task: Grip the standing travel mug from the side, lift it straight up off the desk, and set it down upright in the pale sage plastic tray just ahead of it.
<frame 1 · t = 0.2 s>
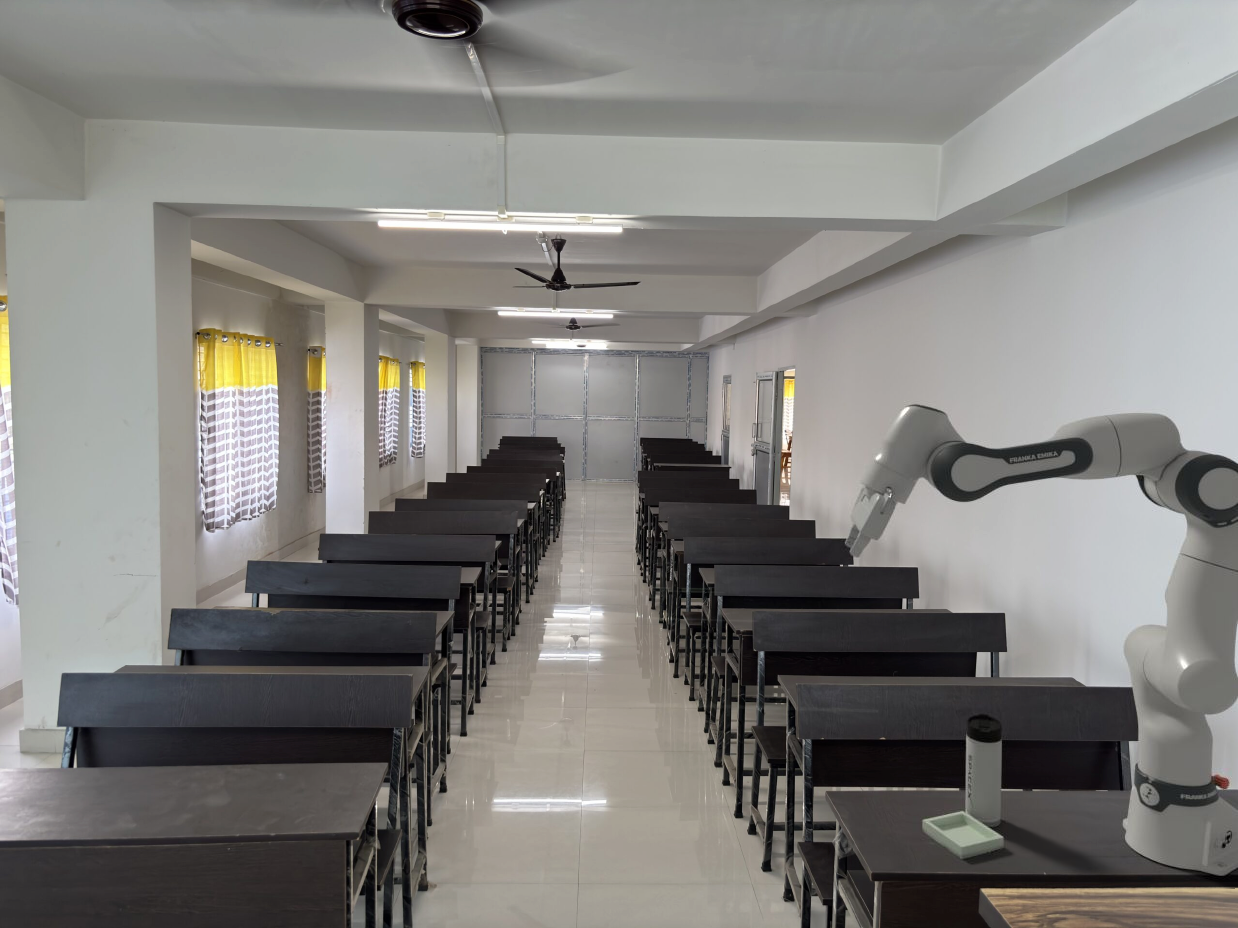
hand: (851, 550, 157), 54 cm above the table, tool tilted 25°, fingers open, 8 cm apart
tray: (962, 839, 157), on the table
travel mug: (982, 820, 164), on the table
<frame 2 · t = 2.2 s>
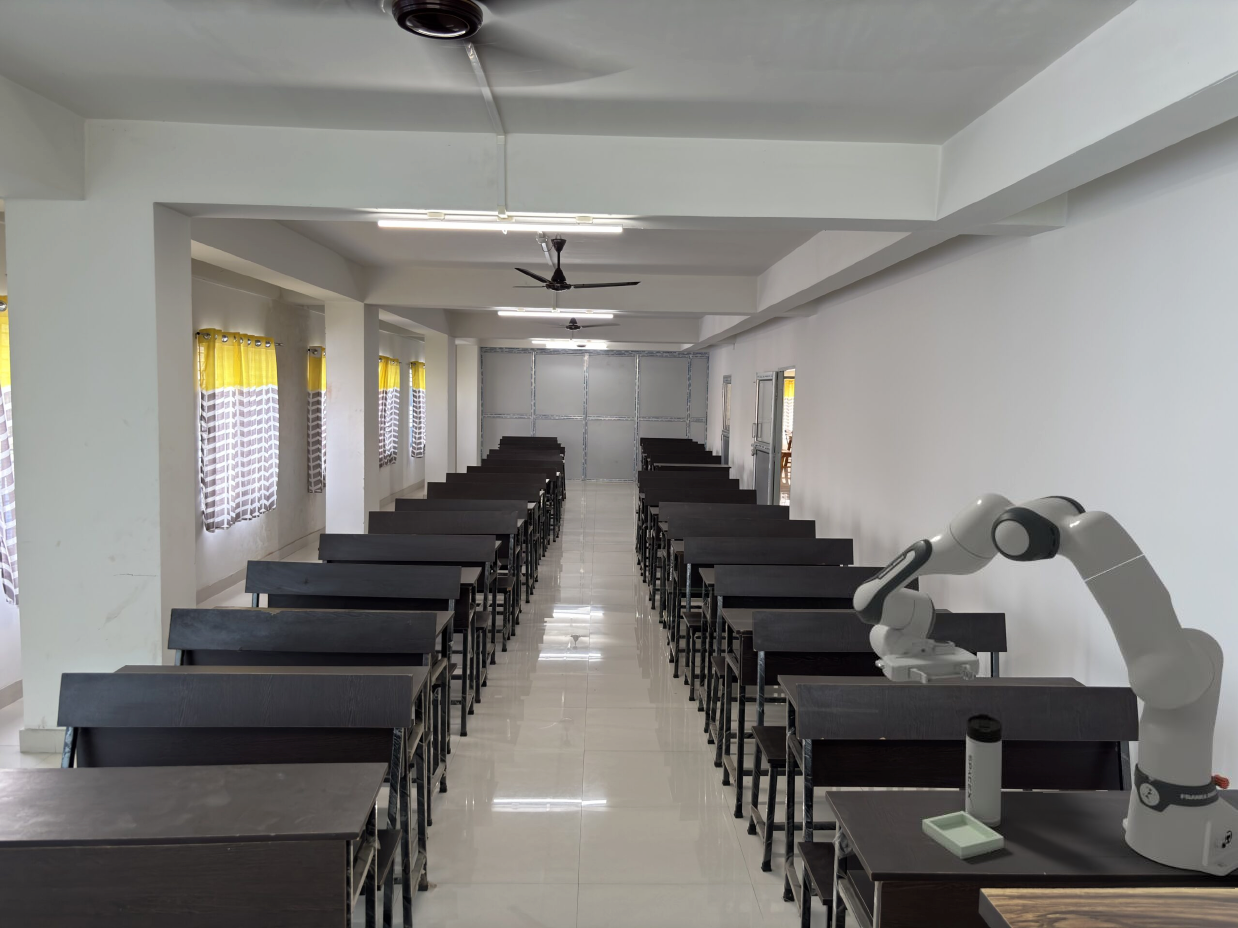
hand: (950, 678, 174), 24 cm above the table, tool horizontal, fingers open, 8 cm apart
nothing on the table moved.
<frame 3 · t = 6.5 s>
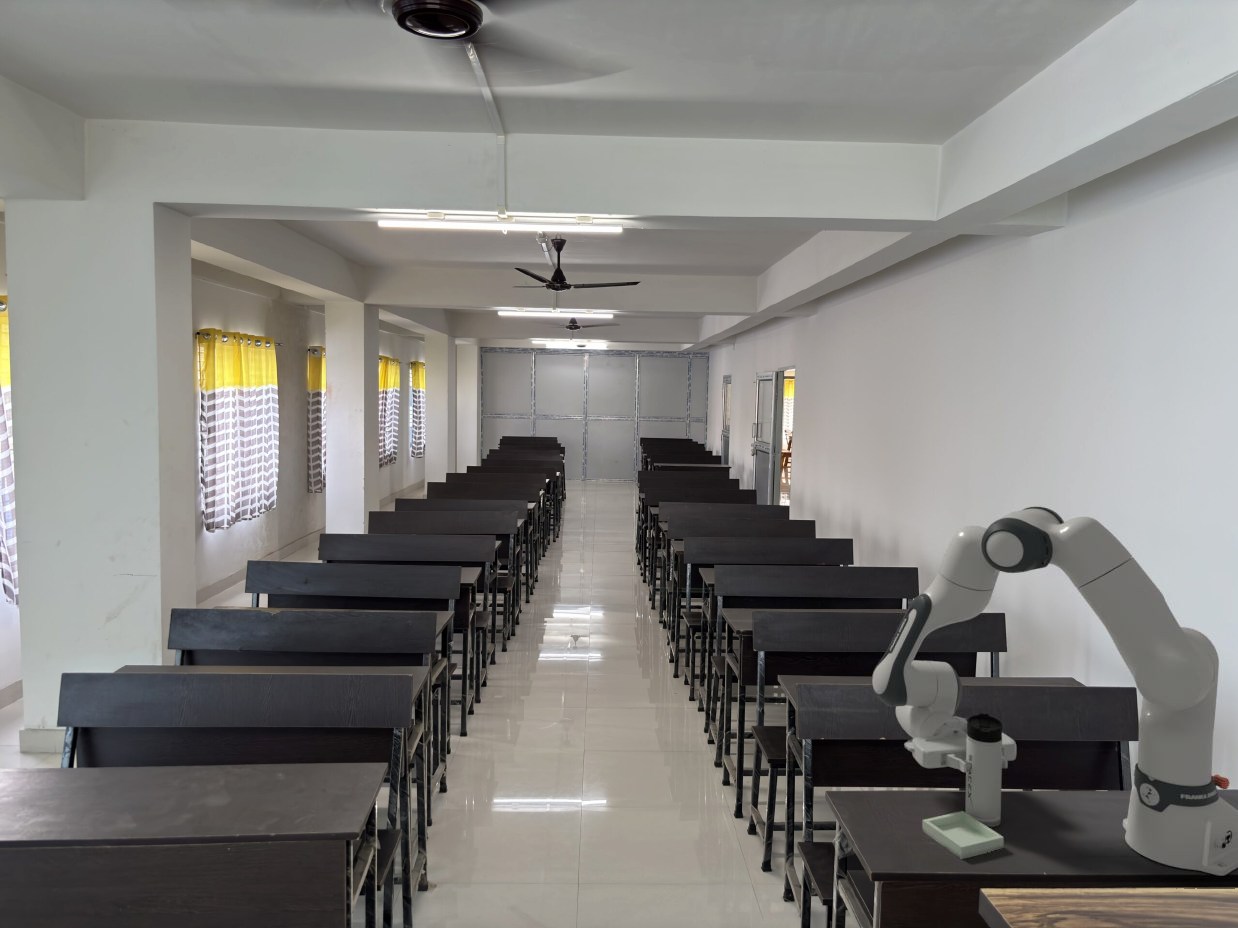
hand: (986, 766, 162), 11 cm above the table, tool horizontal, fingers closed on travel mug, 6 cm apart
travel mug: (982, 820, 164), on the table, touching gripper
when the fingers open (13 cm above the table, at t = 10.2 s): travel mug stays where it is, resting on tray.
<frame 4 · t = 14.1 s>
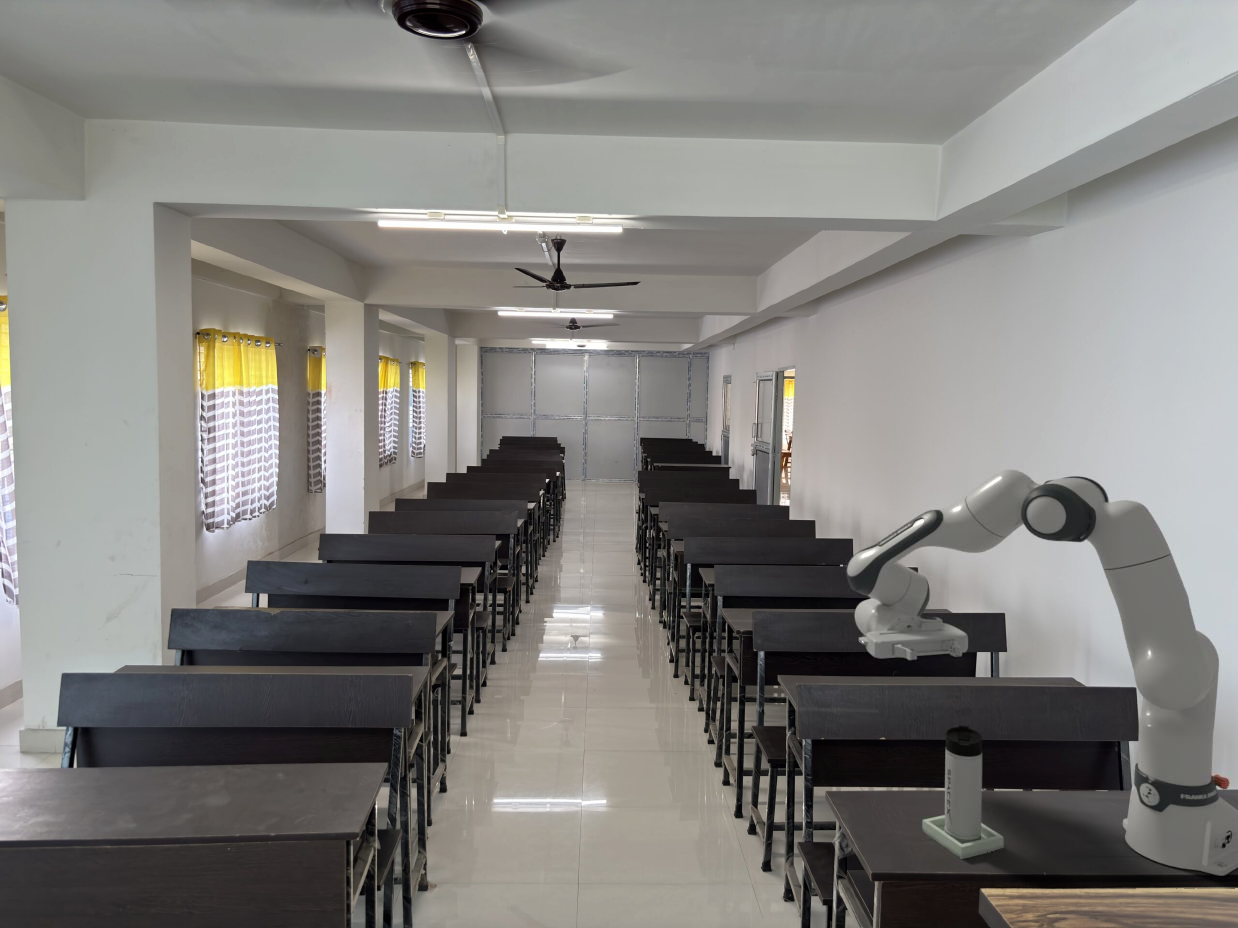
hand: (936, 654, 164), 32 cm above the table, tool horizontal, fingers open, 8 cm apart
travel mug: (962, 837, 157), resting on tray
at the end: travel mug inside the target area on the tray (0.2 cm from its centre), point 0.4 cm above the tray's base; travel mug tilted 0°; the gripper is holding nothing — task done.
